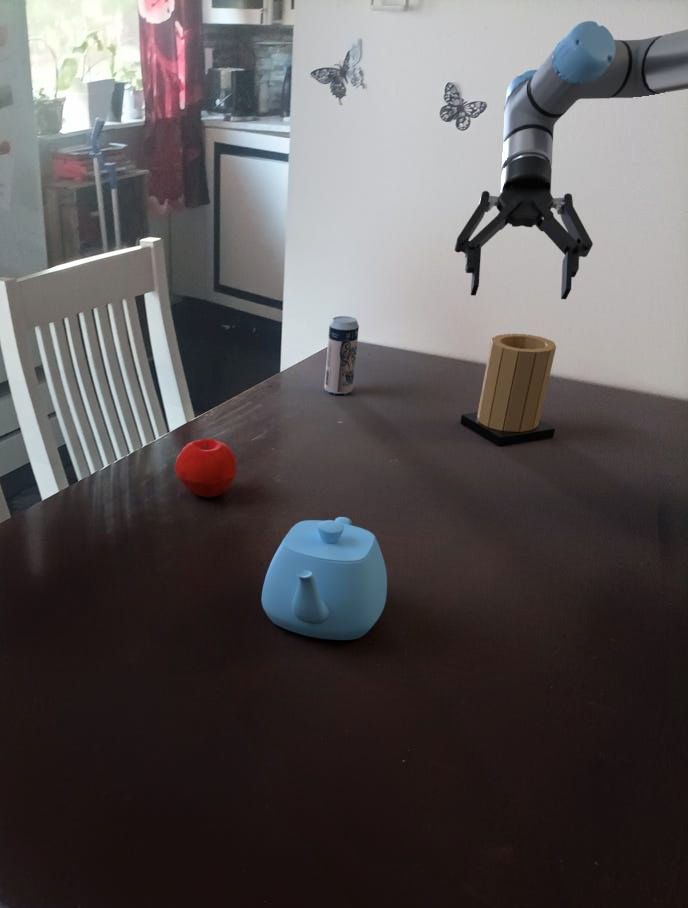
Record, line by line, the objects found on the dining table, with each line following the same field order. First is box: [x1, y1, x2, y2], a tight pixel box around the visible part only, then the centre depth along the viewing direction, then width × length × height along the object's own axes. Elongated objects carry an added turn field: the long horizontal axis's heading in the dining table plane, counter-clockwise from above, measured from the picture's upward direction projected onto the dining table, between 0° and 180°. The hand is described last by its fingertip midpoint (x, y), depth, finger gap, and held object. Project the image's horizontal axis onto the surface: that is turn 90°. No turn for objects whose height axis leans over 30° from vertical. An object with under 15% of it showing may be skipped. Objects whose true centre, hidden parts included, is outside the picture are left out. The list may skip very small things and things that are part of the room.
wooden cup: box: [477, 333, 557, 432], centre depth 136 cm, size 9×9×12 cm
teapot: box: [260, 516, 388, 641], centre depth 92 cm, size 13×11×18 cm
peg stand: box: [459, 411, 556, 447], centre depth 137 cm, size 10×10×10 cm
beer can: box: [323, 315, 360, 395], centre depth 151 cm, size 5×5×12 cm
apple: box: [174, 438, 237, 498], centre depth 118 cm, size 8×8×7 cm
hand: (520, 292), depth 138 cm, fingers open, 13 cm apart
